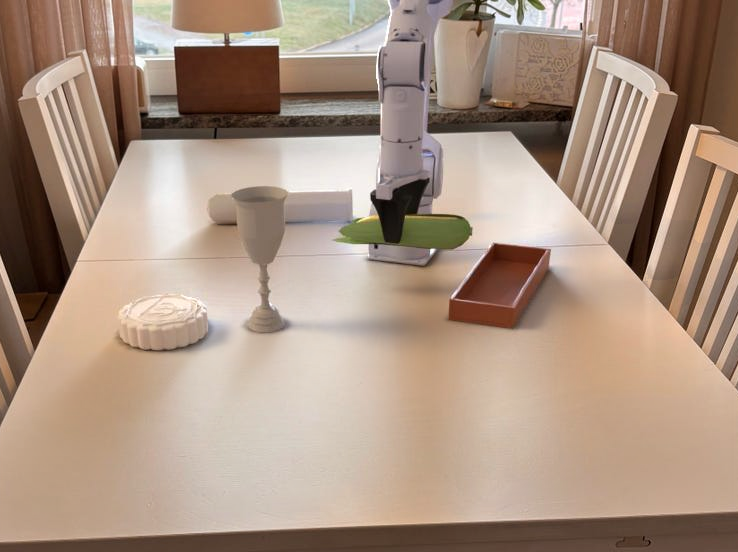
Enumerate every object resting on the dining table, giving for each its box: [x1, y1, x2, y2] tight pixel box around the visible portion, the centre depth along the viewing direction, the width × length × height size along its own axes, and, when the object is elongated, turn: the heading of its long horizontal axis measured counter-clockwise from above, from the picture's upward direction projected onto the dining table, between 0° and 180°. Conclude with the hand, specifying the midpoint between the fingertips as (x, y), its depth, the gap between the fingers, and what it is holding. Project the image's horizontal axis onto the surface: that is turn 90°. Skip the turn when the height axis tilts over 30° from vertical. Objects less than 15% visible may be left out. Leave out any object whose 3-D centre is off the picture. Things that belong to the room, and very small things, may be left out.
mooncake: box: [117, 293, 209, 351], centre depth 139 cm, size 12×12×4 cm
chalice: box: [231, 185, 288, 333], centre depth 137 cm, size 7×7×18 cm
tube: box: [206, 187, 354, 225], centre depth 177 cm, size 5×5×25 cm
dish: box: [447, 242, 552, 329], centre depth 149 cm, size 9×24×3 cm, turn 158°
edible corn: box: [332, 213, 474, 251], centre depth 146 cm, size 5×20×5 cm, turn 82°
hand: (399, 235), depth 147 cm, fingers closed on edible corn, 5 cm apart
